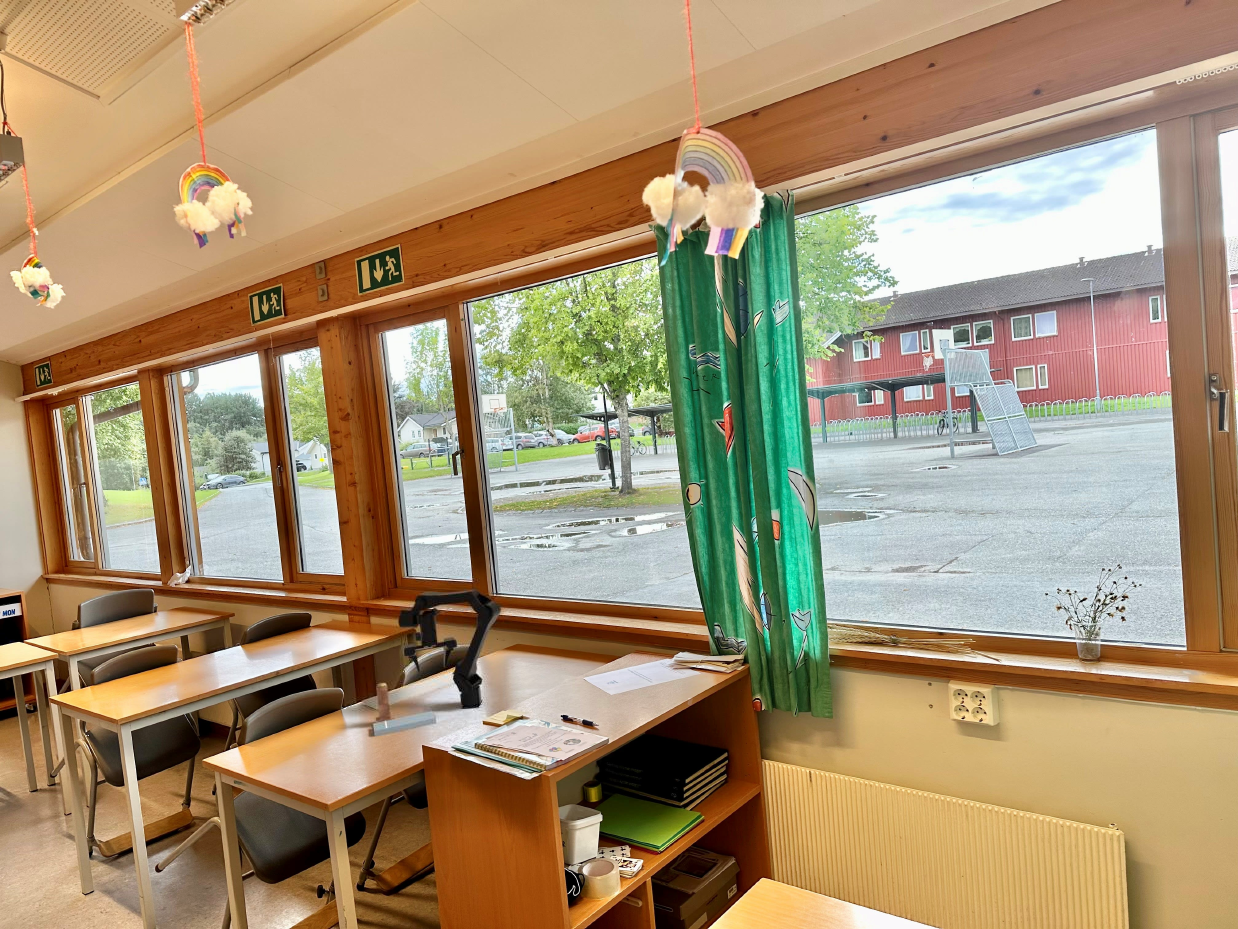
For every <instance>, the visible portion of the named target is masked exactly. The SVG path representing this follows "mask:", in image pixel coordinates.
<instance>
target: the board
mask: <svg viewBox="0 0 1238 929" xmlns="http://www.w3.org/2000/svg"><path fill="white" fill-rule="evenodd" d="M435 724H437V718H436V715H435V713H434V710H431V711H427V712H426V711H425V712H422V713H417V714H411V715H406V716H403V717H397V718H395V719H392V720H387V721H382V722H378V723H376V722H375V723H372V725H373V732H374V737H377V736H378V737H379V736H381V735H387V734H392V733H397V732H401V731H406V730H410V729H416V728H419V727H420V728H421V727H425V726H429V725H435Z"/></svg>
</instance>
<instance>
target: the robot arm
mask: <svg viewBox="0 0 1238 929" xmlns="http://www.w3.org/2000/svg"><path fill="white" fill-rule="evenodd" d="M462 603H467V604H469V605H470V607H471V609H472V610H473V611H474V612H475V613H476V614H477V616H476V617H477V619H476V623H477V625H476V628H475V631H474V634H473V635H472V638H471V642H470V643H469V646H468V648H467V650H466V653H465V657H464V659H462V660H460V661H459V662H457V663H456V664H455V666H454V671H452V672H453V673H452V674H454V675H453V680H454V683H455V685H456V687H457V689H458V692H459V693H460V694H459V696H460V697H459V698H460V705H461V709H462V710H463V709H465V710H466V709H473V708H480V707H481V706H480V705H482V704H481V703H483V702H484V700H483V699H482V693H481V692H482V690H481V685H482V683H483V678H482V676H480V675H479V674H478V673H477V671H478V667H477V666H478V664H477V662H478V660H479V657H480V655H481V651H482V649H483V646H484V644H485V641H486V638H487V637H488V634H489V631H490V628H491V627H492V626H493V624H494V623H495V622H496V621H497V619H498V617H499V615H500V614H501V612H502V607H501V605H500V604H499V603H498V601H493V600H492V598H490V597H488V596H486V595H485V594H482V593H481V592H480V591H478V589H470V590H463V591H453V592H444V593H442V592H438V591H426V592H423V593H420V594H418V595H417V596H416V597H415V599H414V604H413V606H412V608H409V609H408V608H403V609H400V613H399V617H398V622H397V623H398V626H399V628H400V629H413V628H415V629H416V628H418V627H419V630H420V632H419V631H417V632H414V641H415V642H416V643H417V642H419V644H420V645H415V644H414V643H411V644H403V646H402V655H403V656H404V657H407V658H408V659H411V660H412V661H413V662H414V665H415V667H416V669H417V672H418V674H419V673H420V672H421V671H420V670H421V669H420V664H419V661H418V655H417V653H416V652H421V651H426V650H433V649H439V648H443V667H444V669H446V668H447V664H448V660H449V657H450V654H451V652H452V651H454V650H455V649H456V648H457V647H458V643H457V640H456V638H455V637H452V636H451V637H446V638H443V641H438V633H437V620H436V616H438V615H439V614H441V611H440V610H439V609H437V608H436V607H439V606H443V605H454V604H462ZM422 611H423V612H422ZM482 701H483V702H482ZM479 706H480V707H479Z"/></svg>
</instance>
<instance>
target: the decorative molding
mask: <svg viewBox="0 0 1238 929" xmlns="http://www.w3.org/2000/svg"><path fill="white" fill-rule="evenodd" d="M453 672H454V671H452V672H447V673H443V674H439V675H437V676H433V677H431V678H428V679H425V680H421V681H418V682H415V683H412V684H409V685H406V686H404V687H400V688H397V689H393V690H391V691H388V699H389V705H390V706H392V705H391V704H393V705H395V704H394V703H396V704H398V703H397V702H399V703H401V702H400V701H402V702H405V701H407V699H408V700H410V699H412V698H413V699H414V698H416V697H419V696H422V695H425V694H428V693H431V692H434V691H436V690H440V689H442V688H445V687H448V686H451V685H454V684H455V683H454V680H453V675H454V674H452V673H453ZM455 685H456V684H455ZM409 698H410V699H409ZM404 700H405V701H404ZM362 703H364V704H363V706H364V705H365V706H366V705H367V706H369V707H368V708H371V709H373V708H374V709H373V710H375V709H378V710H379V708H378V699H377V695H376V696H372V697H369V698H367V699H363V700H362ZM367 706H366V707H367Z"/></svg>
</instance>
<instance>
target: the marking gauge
mask: <svg viewBox="0 0 1238 929" xmlns="http://www.w3.org/2000/svg"><path fill="white" fill-rule="evenodd" d="M375 689H376V696H377V699H378V708H379V709H378V716H377V717H375V723H378V722H382V721H387V720H392V719H396V718H395V715H394V713H391V711H390V710H391V709H390V706H389V699H388V692H389V691H388V685H387V683H385V682H381V683H377V685H376V686H375Z"/></svg>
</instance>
